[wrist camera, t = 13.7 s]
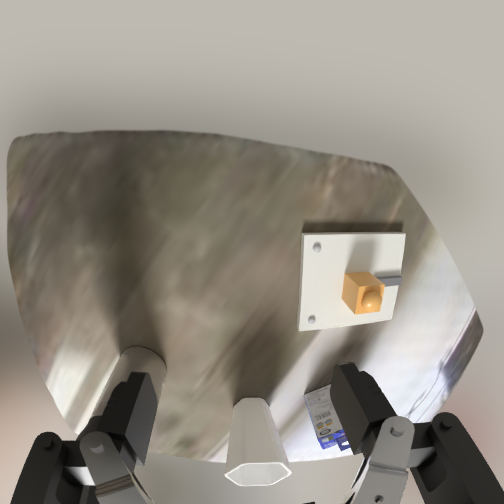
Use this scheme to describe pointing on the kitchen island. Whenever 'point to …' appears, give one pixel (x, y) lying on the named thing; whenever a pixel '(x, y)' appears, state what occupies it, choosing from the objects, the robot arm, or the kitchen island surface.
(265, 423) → the cup
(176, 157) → the kitchen island surface
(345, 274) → the cube with dome knob
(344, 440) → the ink cartridge box
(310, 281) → the plate
